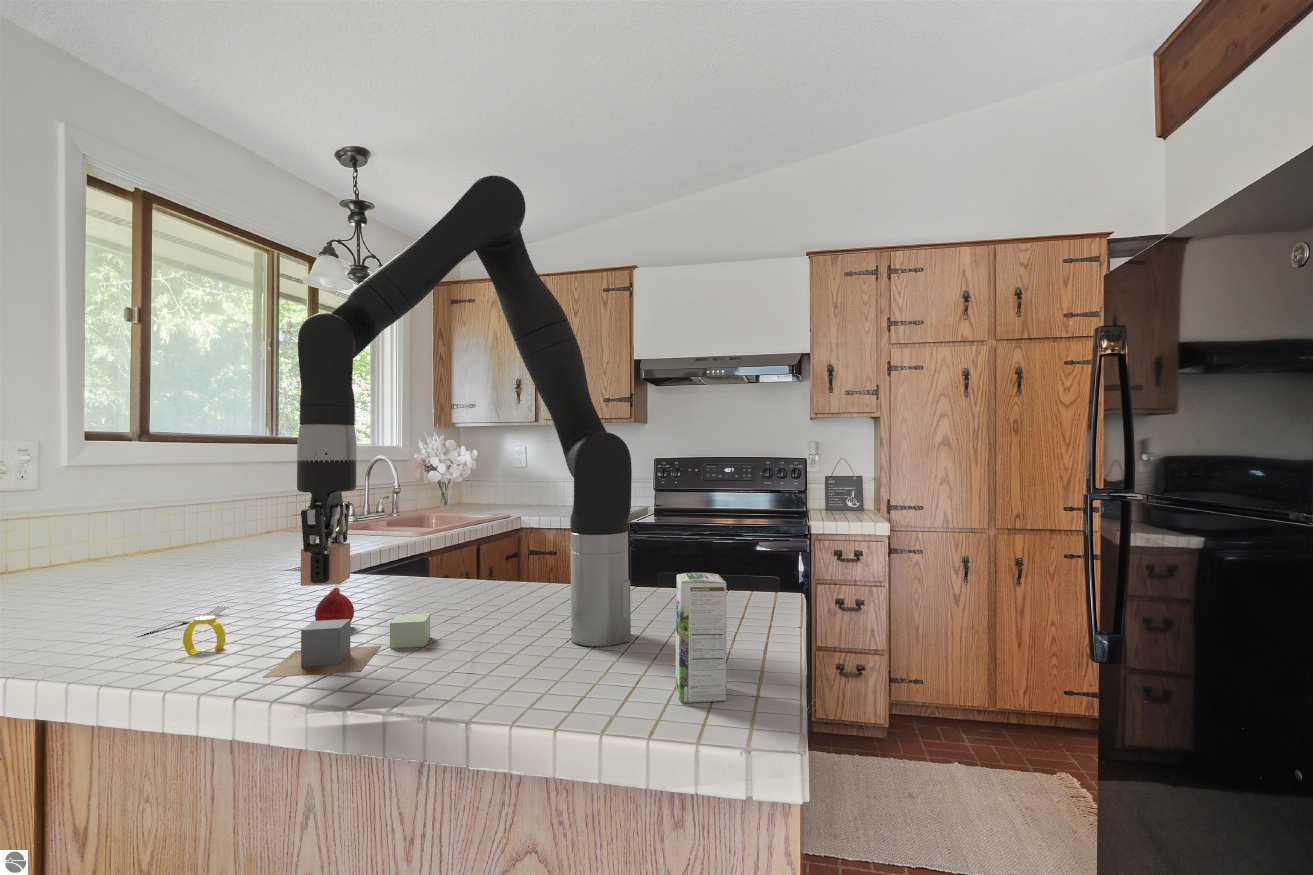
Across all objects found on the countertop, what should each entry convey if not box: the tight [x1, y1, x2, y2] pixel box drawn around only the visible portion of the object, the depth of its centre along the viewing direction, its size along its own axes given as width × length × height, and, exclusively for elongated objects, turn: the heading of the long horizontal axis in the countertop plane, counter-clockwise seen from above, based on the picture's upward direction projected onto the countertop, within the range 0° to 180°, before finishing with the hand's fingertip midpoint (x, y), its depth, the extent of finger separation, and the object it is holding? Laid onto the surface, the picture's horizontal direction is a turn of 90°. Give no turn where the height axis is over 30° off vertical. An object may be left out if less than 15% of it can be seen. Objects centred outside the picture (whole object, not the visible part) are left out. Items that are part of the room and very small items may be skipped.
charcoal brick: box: [300, 619, 351, 667], centre depth 94 cm, size 5×5×5 cm
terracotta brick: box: [300, 542, 351, 587], centre depth 94 cm, size 5×5×5 cm
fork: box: [141, 605, 229, 634], centre depth 116 cm, size 3×24×2 cm, turn 166°
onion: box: [314, 586, 355, 624], centre depth 111 cm, size 6×6×8 cm
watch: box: [182, 615, 226, 657], centre depth 100 cm, size 6×3×6 cm, turn 82°
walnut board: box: [262, 645, 382, 679], centre depth 94 cm, size 12×12×1 cm
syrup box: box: [675, 572, 727, 704], centre depth 83 cm, size 6×6×14 cm
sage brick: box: [389, 613, 431, 649], centre depth 102 cm, size 5×5×5 cm
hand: (326, 578), depth 94 cm, fingers closed on terracotta brick, 5 cm apart
